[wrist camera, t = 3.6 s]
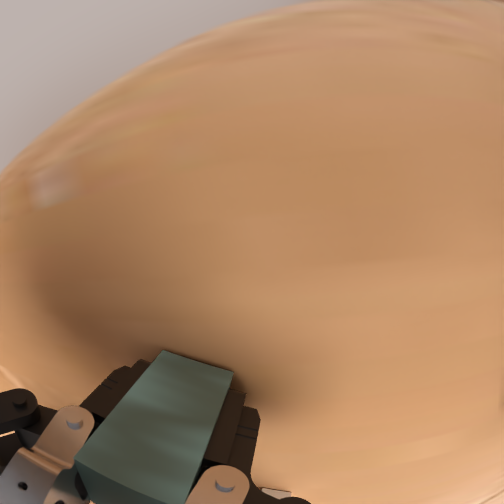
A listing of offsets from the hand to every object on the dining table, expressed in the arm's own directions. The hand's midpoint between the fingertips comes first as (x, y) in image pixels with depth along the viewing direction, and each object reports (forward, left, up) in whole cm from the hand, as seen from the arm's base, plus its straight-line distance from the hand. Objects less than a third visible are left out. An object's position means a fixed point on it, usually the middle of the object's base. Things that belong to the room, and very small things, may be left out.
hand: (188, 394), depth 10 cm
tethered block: (0, +7, 0) cm, 7 cm away
